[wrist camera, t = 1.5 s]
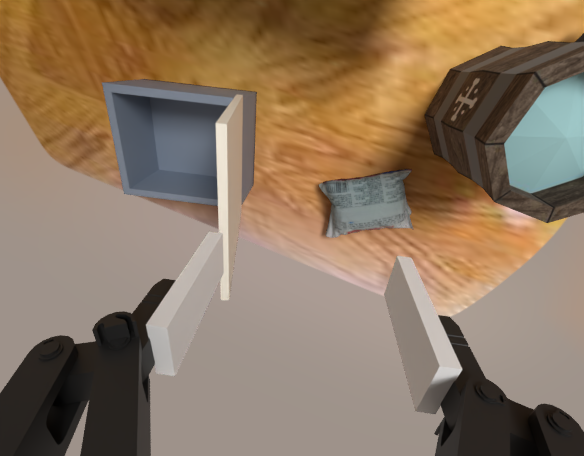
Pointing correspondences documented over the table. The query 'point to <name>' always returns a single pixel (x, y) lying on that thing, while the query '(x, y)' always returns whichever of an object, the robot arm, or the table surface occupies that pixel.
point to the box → (174, 138)
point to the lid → (229, 185)
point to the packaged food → (367, 203)
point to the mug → (517, 126)
